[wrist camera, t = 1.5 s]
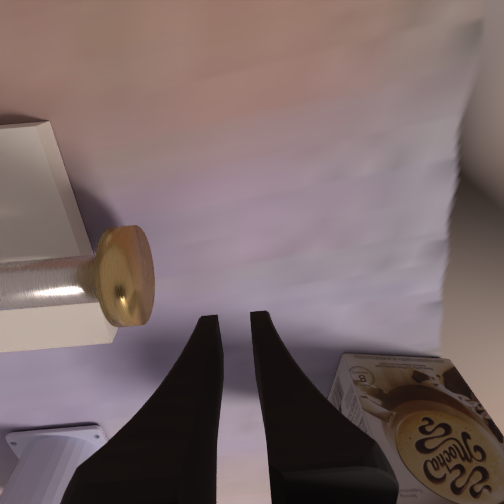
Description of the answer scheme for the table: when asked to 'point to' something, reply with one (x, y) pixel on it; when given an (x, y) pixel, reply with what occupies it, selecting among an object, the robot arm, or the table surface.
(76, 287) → the shaft
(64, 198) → the shaft housing
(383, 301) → the table surface
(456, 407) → the coffee box
